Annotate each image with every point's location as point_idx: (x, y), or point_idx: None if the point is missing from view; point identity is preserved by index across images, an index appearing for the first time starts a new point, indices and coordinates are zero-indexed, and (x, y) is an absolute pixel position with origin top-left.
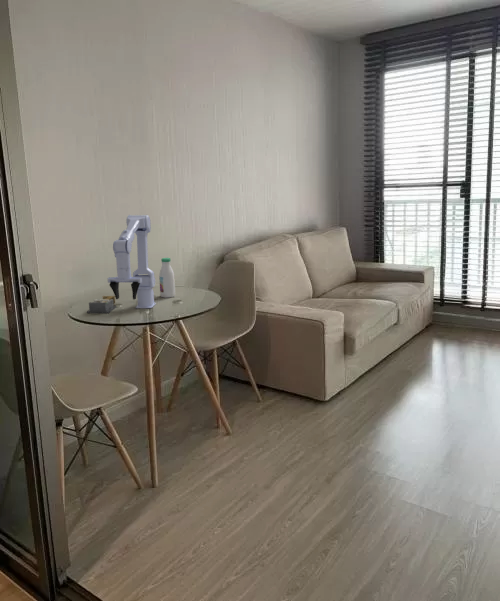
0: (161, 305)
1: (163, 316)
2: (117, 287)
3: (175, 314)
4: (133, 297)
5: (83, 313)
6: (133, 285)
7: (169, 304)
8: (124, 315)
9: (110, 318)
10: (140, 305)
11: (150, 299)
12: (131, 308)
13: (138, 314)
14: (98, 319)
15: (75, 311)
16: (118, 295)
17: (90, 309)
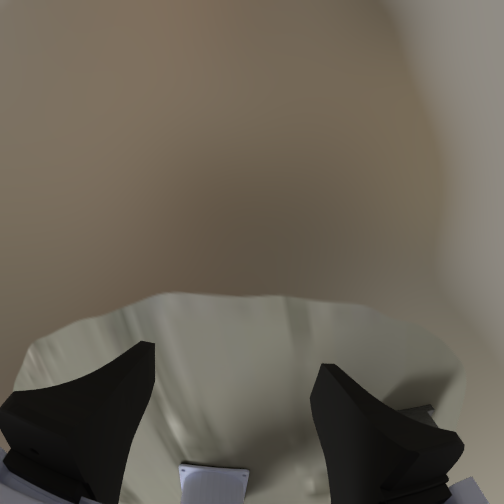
0: (157, 482)
1: (80, 354)
2: (343, 473)
3: (49, 372)
4: (140, 348)
5: (441, 401)
6: (39, 409)
7: (134, 483)
8: (278, 393)
9: (343, 347)
10: (226, 478)
11: (183, 497)
12: (265, 469)
13: (210, 404)
14: (397, 329)
15: (457, 414)
16: (318, 410)
17: (426, 416)
